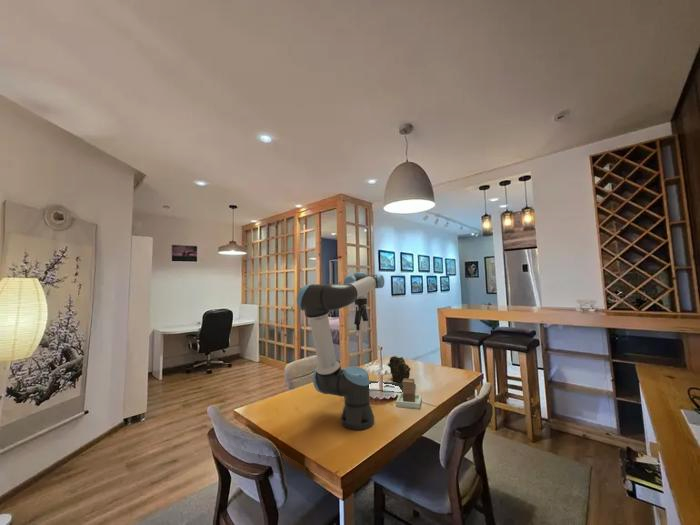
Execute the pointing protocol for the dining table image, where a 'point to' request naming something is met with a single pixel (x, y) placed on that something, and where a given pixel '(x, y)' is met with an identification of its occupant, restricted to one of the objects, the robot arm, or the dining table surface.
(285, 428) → the dining table surface
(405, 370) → the rock
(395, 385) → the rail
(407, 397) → the block
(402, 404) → the tray
